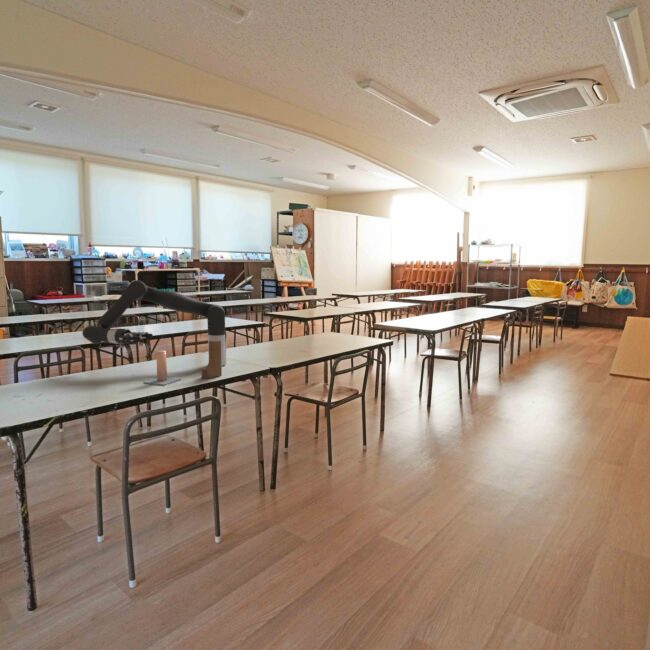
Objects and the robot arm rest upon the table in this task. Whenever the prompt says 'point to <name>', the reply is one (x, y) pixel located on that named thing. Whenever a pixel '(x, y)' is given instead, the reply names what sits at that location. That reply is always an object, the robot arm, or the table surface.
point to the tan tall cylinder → (161, 365)
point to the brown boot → (213, 360)
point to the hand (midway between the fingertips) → (146, 337)
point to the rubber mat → (155, 382)
